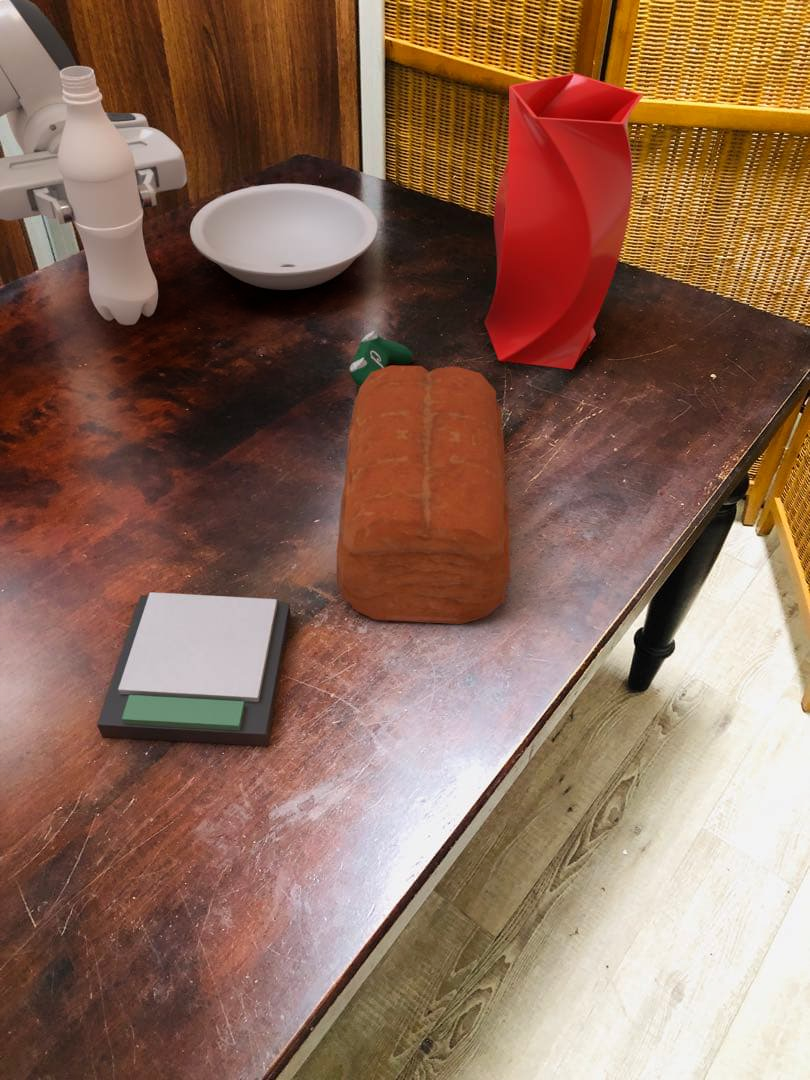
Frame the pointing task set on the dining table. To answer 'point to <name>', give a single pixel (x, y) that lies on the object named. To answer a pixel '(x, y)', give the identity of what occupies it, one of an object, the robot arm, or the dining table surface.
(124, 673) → the kitchen scale
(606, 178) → the vase
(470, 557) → the bread
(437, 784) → the dining table surface
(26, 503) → the dining table surface
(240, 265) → the soup bowl
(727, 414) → the dining table surface
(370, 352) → the gaming controller
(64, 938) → the dining table surface
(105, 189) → the water bottle
